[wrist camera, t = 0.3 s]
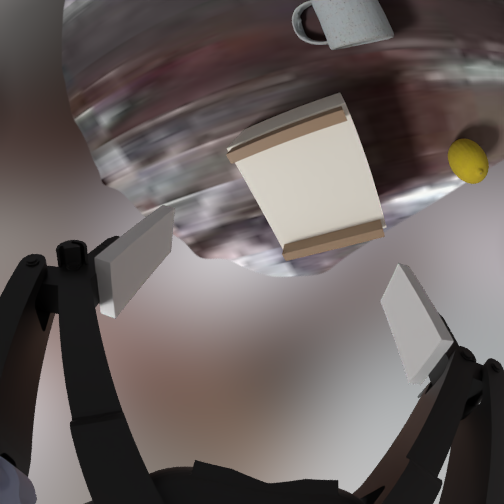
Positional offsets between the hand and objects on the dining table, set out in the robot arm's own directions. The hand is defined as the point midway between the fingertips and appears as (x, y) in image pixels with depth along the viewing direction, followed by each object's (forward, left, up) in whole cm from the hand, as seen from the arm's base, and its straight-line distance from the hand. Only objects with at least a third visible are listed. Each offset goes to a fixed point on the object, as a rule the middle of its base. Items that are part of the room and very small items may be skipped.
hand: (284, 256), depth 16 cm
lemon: (-20, +9, -26) cm, 34 cm away
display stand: (+1, +5, -26) cm, 26 cm away
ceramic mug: (-10, -12, -26) cm, 31 cm away
